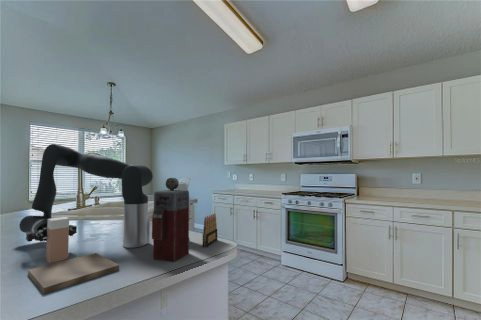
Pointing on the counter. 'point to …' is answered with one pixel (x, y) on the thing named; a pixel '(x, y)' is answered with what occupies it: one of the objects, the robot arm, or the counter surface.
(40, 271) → the board
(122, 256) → the counter surface
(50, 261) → the block
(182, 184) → the skyscraper
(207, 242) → the ammunition clip
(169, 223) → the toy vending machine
